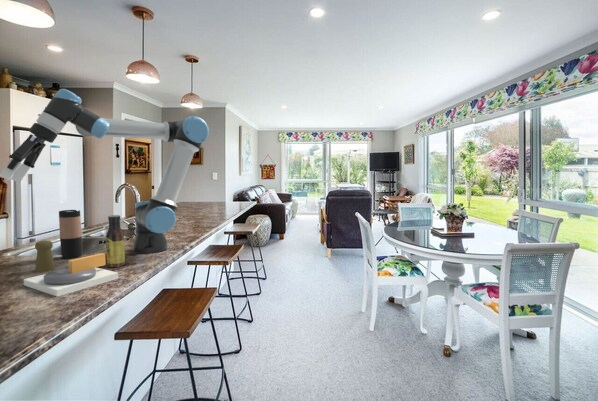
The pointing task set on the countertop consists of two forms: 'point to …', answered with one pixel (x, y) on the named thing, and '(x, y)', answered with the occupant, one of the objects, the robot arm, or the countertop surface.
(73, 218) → the travel mug
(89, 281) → the dial base
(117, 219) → the sauce bottle
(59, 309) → the countertop surface
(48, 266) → the olive pepper mill
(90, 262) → the dial
